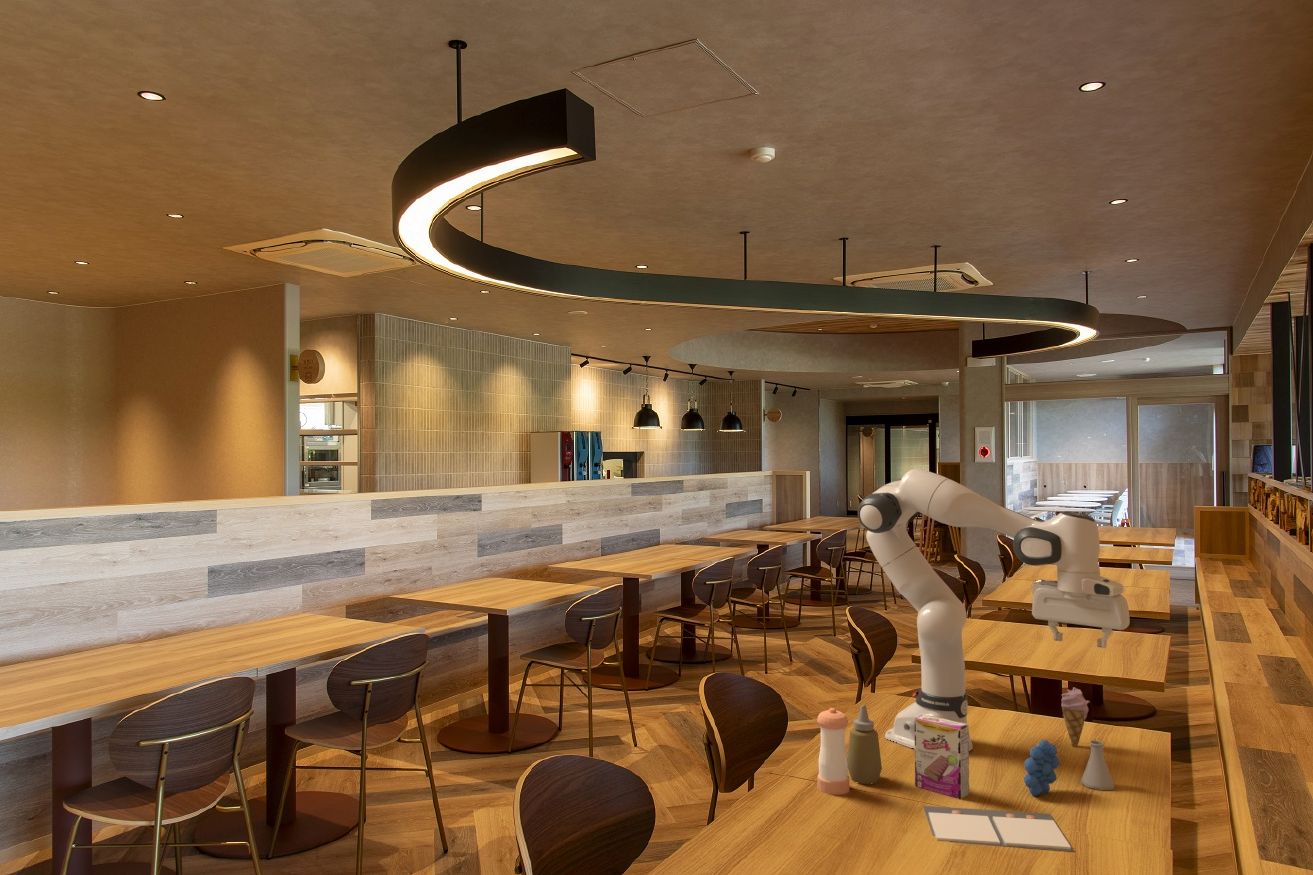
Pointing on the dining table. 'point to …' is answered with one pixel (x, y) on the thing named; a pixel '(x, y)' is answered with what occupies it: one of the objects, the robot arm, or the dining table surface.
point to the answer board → (996, 828)
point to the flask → (1097, 769)
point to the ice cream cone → (1074, 713)
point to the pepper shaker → (833, 753)
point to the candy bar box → (942, 756)
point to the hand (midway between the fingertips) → (1079, 643)
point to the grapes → (1041, 768)
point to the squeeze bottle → (864, 750)
